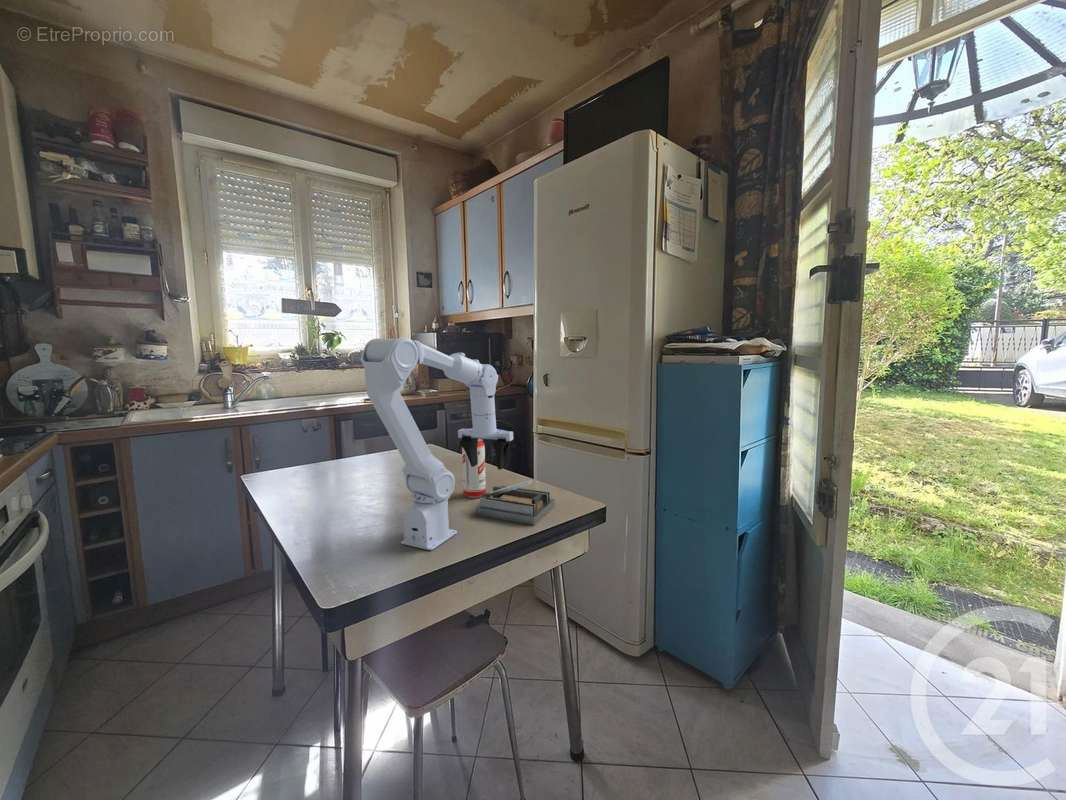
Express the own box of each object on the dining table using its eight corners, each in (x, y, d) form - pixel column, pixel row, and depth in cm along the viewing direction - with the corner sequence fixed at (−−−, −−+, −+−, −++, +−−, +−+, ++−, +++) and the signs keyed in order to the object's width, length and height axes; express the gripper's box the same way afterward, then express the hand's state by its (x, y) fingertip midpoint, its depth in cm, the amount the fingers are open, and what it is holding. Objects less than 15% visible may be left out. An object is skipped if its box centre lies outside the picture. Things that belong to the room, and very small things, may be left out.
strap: (528, 486, 104) (526, 482, 104) (487, 498, 109) (485, 494, 109) (534, 481, 107) (533, 478, 107) (494, 493, 113) (493, 490, 113)
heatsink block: (534, 525, 99) (534, 506, 99) (475, 515, 106) (474, 497, 105) (554, 506, 111) (554, 489, 110) (500, 498, 117) (500, 482, 117)
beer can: (487, 491, 123) (486, 437, 121) (483, 499, 117) (481, 441, 115) (466, 491, 124) (465, 437, 122) (460, 498, 117) (459, 441, 116)
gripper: (517, 411, 104) (520, 464, 107) (467, 409, 110) (471, 459, 113) (504, 417, 98) (507, 473, 100) (451, 414, 104) (456, 468, 106)
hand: (487, 466), depth 106 cm, fingers open, 7 cm apart
